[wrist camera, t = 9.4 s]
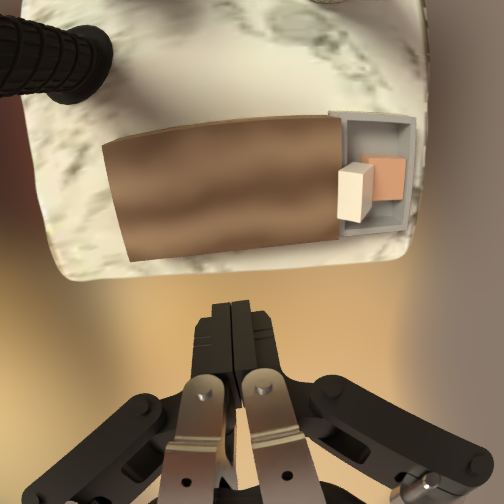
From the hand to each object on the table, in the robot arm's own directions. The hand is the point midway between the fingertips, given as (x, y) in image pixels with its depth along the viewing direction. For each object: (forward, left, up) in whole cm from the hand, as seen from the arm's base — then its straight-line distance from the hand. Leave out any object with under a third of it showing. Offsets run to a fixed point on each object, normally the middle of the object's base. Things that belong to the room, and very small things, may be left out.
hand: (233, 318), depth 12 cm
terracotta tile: (+1, +18, -20) cm, 27 cm away
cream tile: (+1, +12, -19) cm, 23 cm away
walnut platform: (0, 0, -23) cm, 23 cm away
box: (0, +17, -23) cm, 28 cm away
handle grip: (-17, -16, -23) cm, 33 cm away
